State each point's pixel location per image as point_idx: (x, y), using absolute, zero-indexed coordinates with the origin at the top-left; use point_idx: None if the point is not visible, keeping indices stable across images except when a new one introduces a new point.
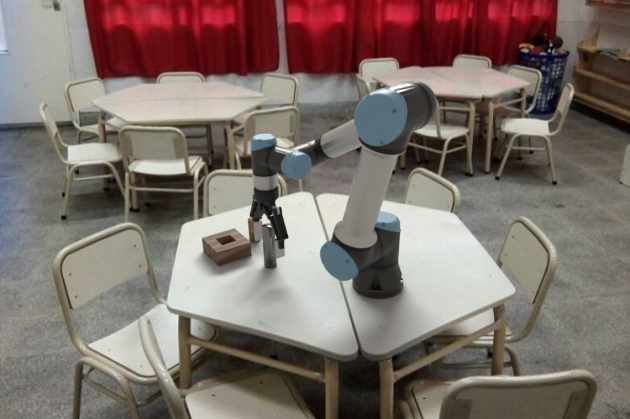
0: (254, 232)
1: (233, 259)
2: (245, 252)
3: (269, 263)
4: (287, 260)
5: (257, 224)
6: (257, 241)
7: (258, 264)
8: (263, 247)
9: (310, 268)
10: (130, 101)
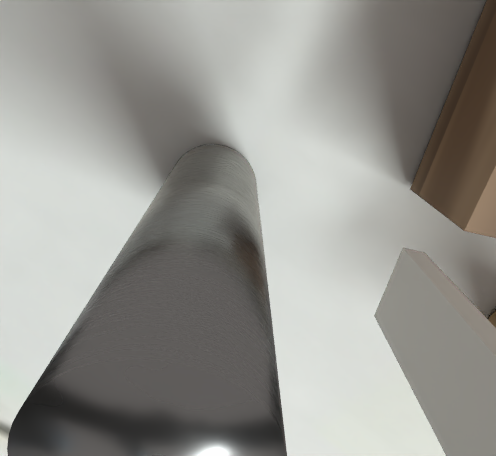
0: (467, 299)
1: (480, 37)
2: (447, 152)
3: (177, 164)
4: None
5: (491, 409)
6: (491, 321)
7: (289, 142)
8: (218, 195)
9: (19, 317)
10: None
